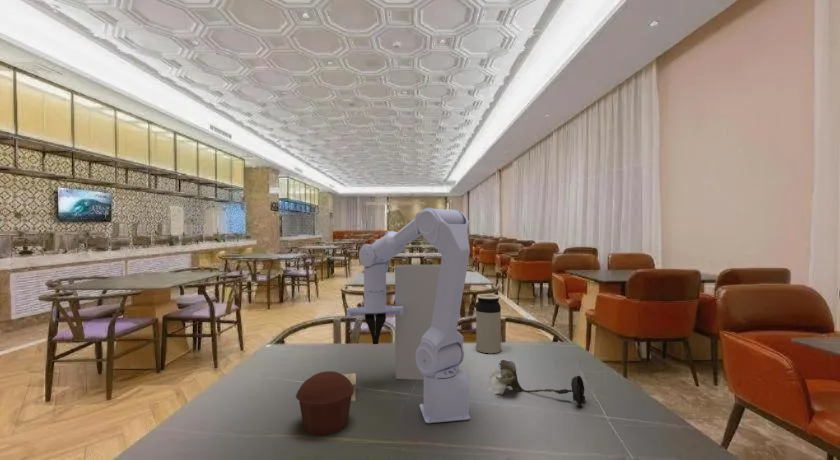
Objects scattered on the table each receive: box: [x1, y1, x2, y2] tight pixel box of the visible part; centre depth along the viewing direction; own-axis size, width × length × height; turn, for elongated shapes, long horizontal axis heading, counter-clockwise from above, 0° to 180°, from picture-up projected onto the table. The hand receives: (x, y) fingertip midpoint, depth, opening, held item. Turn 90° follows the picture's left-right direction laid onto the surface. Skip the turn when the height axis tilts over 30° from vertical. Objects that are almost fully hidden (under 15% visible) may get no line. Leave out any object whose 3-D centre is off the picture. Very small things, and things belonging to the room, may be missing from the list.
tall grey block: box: [394, 264, 441, 381], centre depth 104 cm, size 14×6×30 cm, turn 84°
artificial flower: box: [486, 359, 586, 408], centre depth 91 cm, size 9×22×10 cm, turn 58°
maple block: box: [341, 372, 357, 402], centre depth 91 cm, size 4×7×10 cm
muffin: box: [295, 370, 354, 435], centre depth 78 cm, size 12×11×10 cm
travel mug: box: [475, 293, 502, 355], centre depth 126 cm, size 8×8×18 cm
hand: (375, 343), depth 99 cm, fingers closed
